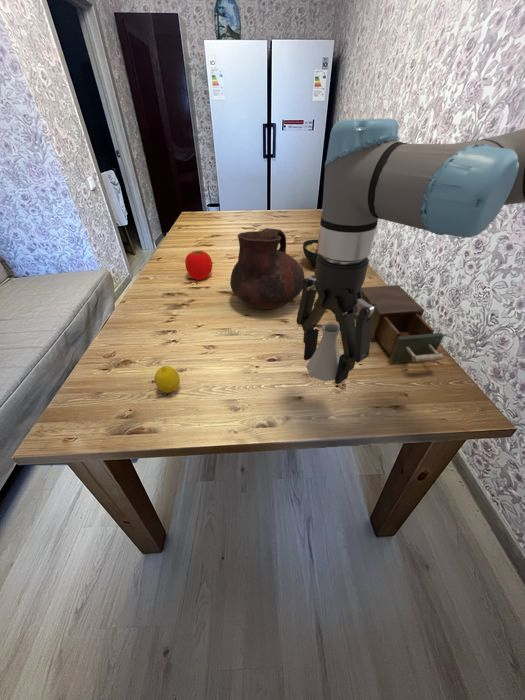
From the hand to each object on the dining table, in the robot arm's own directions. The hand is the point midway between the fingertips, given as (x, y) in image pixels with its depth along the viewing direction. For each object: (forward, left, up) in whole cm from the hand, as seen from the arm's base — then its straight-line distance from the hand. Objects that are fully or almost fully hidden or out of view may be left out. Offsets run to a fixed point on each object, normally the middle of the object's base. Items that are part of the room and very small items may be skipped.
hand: (324, 368), depth 56 cm
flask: (0, 0, 0) cm, 0 cm away
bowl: (+54, -58, -13) cm, 81 cm away
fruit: (+26, +24, -13) cm, 38 cm away
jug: (+45, -21, -13) cm, 52 cm away
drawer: (-1, -33, -12) cm, 35 cm away
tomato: (+77, -11, -13) cm, 79 cm away
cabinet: (+11, -40, -13) cm, 43 cm away
